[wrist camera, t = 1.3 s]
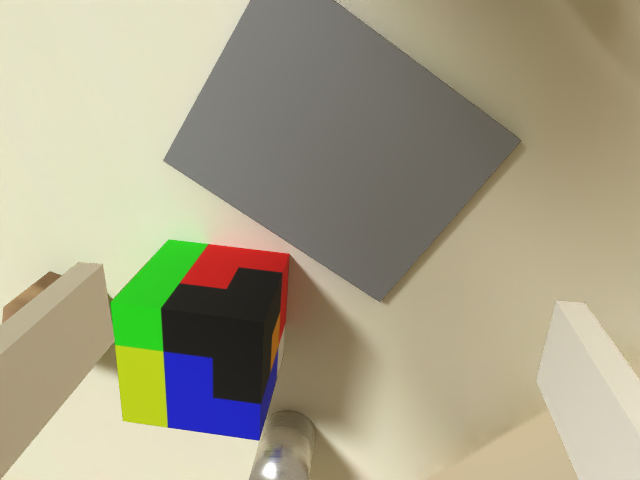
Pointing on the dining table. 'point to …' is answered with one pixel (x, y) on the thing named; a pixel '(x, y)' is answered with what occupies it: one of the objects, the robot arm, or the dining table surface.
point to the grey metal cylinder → (285, 448)
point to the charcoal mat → (336, 140)
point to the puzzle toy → (202, 338)
